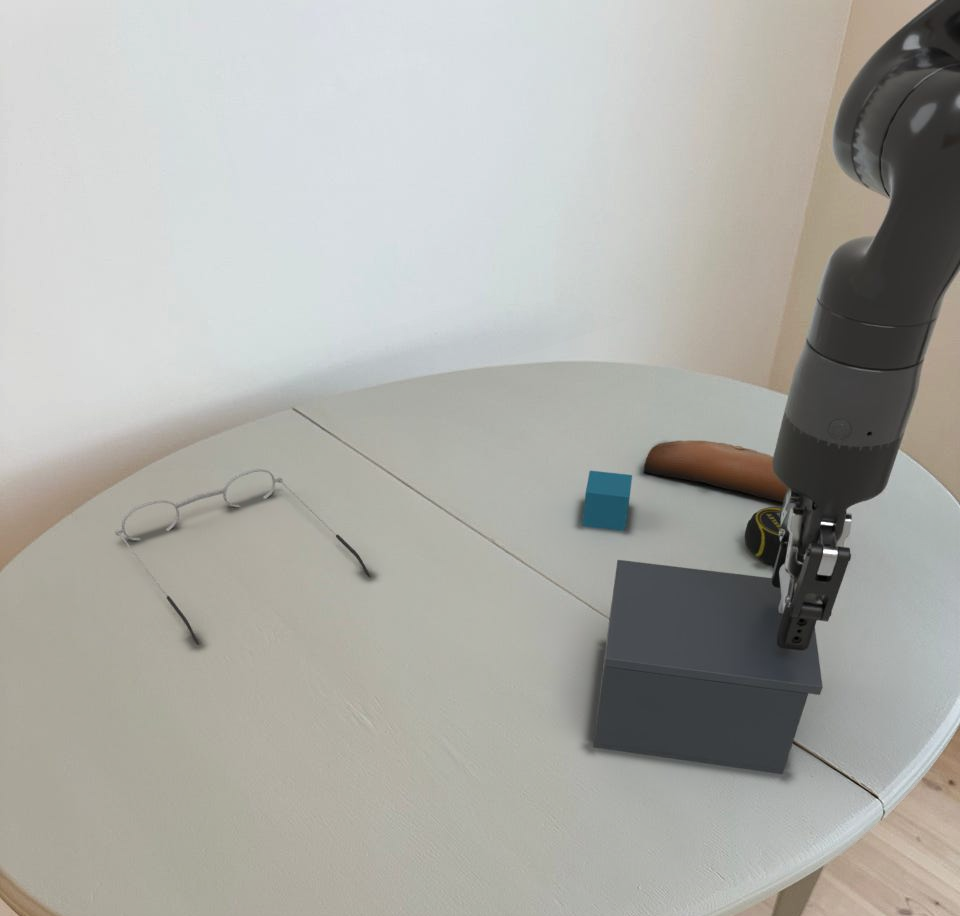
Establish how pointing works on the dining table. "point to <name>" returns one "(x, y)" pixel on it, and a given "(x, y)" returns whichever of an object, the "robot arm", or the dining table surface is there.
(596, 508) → the blue block
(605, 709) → the open box
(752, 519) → the tape measure
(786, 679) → the lid
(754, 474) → the sunglasses case
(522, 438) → the dining table surface
